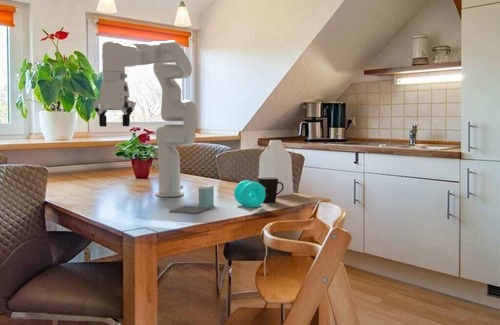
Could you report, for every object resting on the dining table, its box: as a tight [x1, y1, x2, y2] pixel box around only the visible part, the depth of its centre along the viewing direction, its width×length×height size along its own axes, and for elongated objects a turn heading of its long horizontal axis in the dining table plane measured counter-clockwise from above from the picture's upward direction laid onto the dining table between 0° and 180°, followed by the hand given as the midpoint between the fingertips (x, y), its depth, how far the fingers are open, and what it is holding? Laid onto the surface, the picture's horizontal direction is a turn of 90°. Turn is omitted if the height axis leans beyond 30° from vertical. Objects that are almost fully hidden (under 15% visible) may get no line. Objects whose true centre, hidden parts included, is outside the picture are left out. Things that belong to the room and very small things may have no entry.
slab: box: [198, 184, 215, 208], centre depth 185 cm, size 7×3×8 cm, turn 159°
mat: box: [168, 205, 211, 215], centre depth 175 cm, size 12×11×1 cm
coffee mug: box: [257, 177, 284, 204], centre depth 198 cm, size 12×9×10 cm
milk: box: [258, 139, 294, 197], centre depth 221 cm, size 12×12×26 cm
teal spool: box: [233, 179, 265, 209], centre depth 186 cm, size 10×10×10 cm
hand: (114, 126), depth 168 cm, fingers open, 9 cm apart
